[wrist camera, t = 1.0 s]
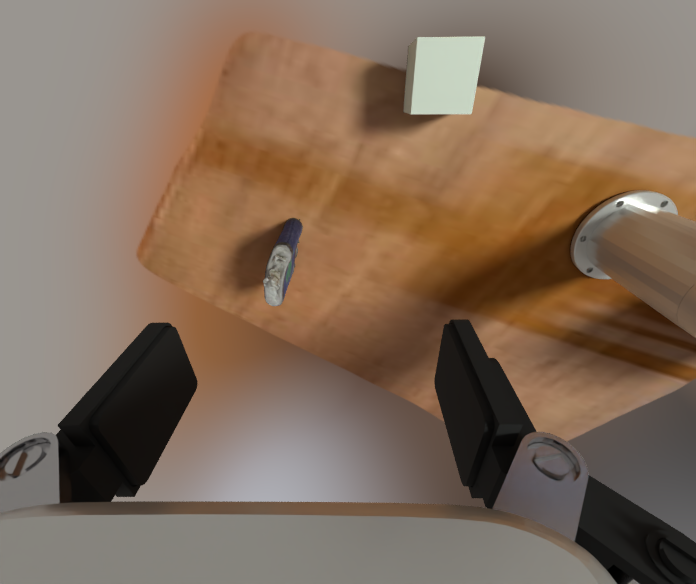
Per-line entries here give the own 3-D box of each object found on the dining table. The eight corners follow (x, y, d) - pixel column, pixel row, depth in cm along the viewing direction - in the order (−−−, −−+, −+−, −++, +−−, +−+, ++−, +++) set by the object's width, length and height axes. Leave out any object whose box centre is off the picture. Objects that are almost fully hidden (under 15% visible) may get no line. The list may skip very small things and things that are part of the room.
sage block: (465, 45, 33) (485, 36, 28) (455, 111, 36) (471, 114, 31) (408, 46, 33) (417, 37, 28) (403, 111, 36) (410, 114, 31)
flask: (293, 276, 48) (278, 317, 39) (274, 271, 48) (254, 312, 39) (305, 220, 43) (291, 252, 34) (284, 214, 43) (264, 245, 34)
